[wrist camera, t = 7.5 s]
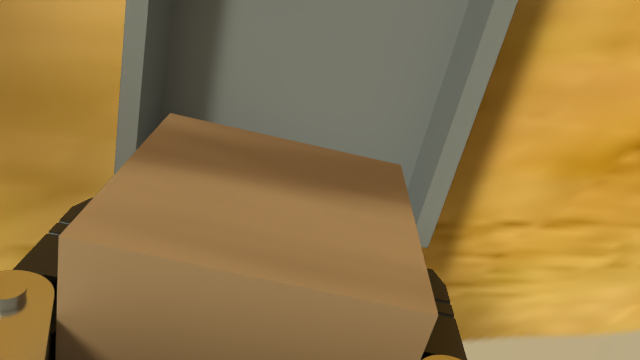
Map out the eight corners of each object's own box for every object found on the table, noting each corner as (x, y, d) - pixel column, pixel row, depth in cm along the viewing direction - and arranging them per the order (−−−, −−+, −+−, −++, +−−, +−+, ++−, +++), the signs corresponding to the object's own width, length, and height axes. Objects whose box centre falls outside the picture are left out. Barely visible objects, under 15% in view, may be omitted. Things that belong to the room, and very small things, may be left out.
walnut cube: (170, 113, 11) (58, 236, 7) (400, 165, 12) (438, 315, 7) (148, 301, 14) (51, 490, 9) (344, 341, 14) (346, 542, 9)
